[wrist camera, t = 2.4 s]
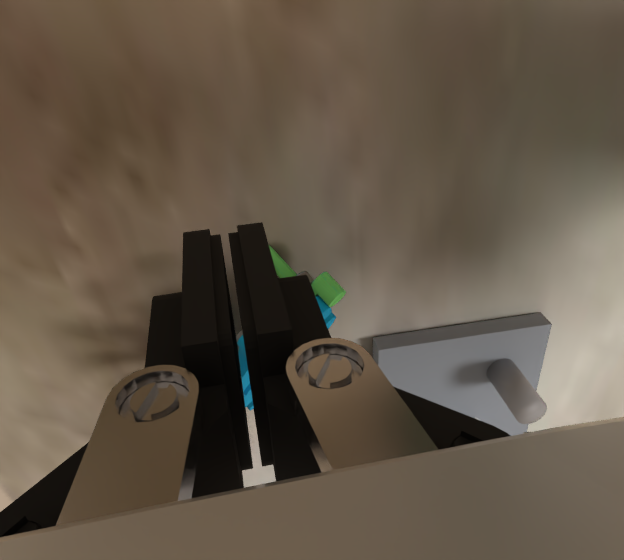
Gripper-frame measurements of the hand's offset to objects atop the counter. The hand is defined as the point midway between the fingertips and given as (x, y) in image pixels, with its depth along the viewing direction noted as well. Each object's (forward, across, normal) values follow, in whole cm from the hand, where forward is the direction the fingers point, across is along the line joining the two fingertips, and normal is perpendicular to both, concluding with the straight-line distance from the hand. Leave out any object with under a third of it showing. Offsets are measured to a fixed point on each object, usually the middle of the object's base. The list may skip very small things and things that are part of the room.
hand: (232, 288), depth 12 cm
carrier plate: (+13, -13, +23) cm, 29 cm away
